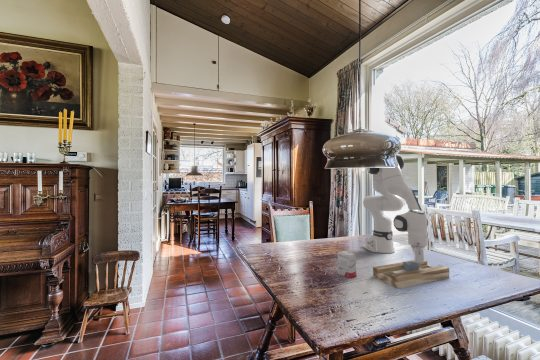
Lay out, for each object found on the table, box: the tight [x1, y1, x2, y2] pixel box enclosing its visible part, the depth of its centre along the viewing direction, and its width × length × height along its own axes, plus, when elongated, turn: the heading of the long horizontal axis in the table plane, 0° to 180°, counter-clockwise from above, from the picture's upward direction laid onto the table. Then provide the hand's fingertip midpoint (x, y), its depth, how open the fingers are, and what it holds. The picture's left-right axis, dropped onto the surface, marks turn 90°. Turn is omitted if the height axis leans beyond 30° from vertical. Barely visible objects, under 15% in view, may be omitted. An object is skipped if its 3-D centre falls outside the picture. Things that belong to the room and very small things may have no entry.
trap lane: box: [372, 259, 450, 289], centre depth 131 cm, size 16×34×5 cm, turn 110°
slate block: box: [402, 260, 419, 272], centre depth 132 cm, size 5×5×4 cm
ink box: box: [336, 250, 357, 279], centre depth 135 cm, size 9×5×12 cm, turn 33°
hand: (418, 267), depth 132 cm, fingers closed
